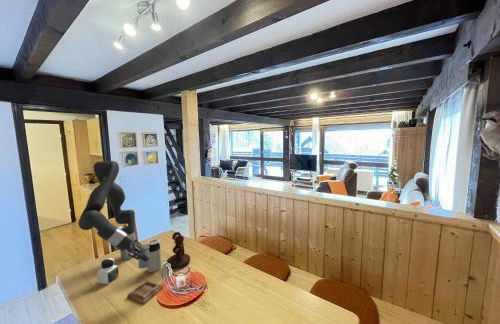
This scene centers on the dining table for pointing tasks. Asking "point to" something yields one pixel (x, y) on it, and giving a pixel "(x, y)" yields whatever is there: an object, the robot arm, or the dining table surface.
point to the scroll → (178, 252)
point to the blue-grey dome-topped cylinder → (145, 251)
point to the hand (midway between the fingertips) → (147, 257)
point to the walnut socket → (144, 292)
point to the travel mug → (154, 255)
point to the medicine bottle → (107, 271)
